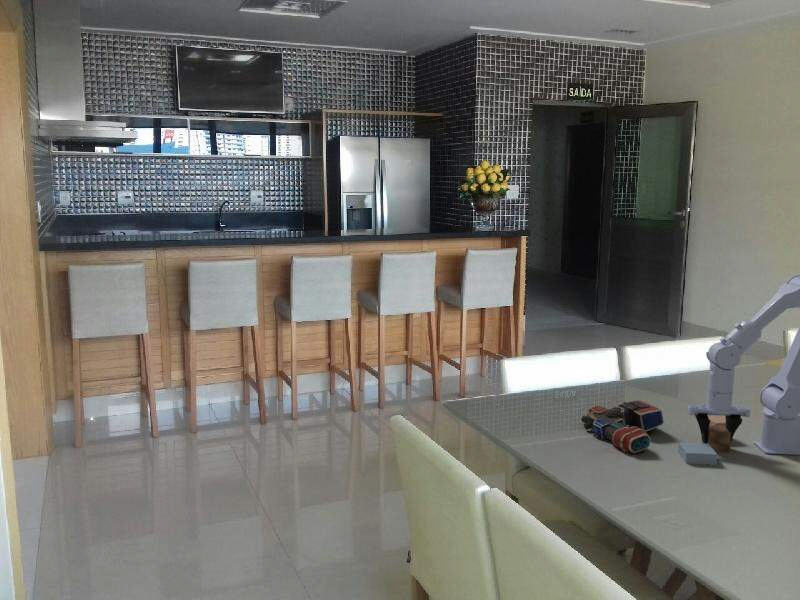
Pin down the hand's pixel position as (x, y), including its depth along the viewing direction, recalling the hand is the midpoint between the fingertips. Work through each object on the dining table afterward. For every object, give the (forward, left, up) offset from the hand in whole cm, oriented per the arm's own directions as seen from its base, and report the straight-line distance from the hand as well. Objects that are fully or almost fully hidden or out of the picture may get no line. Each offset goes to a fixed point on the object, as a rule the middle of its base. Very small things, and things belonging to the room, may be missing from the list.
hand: (716, 442), depth 180 cm
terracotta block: (-3, -8, -2) cm, 9 cm away
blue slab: (+7, +8, -2) cm, 11 cm away
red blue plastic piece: (+19, -7, -2) cm, 21 cm away
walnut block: (0, 0, -1) cm, 1 cm away
